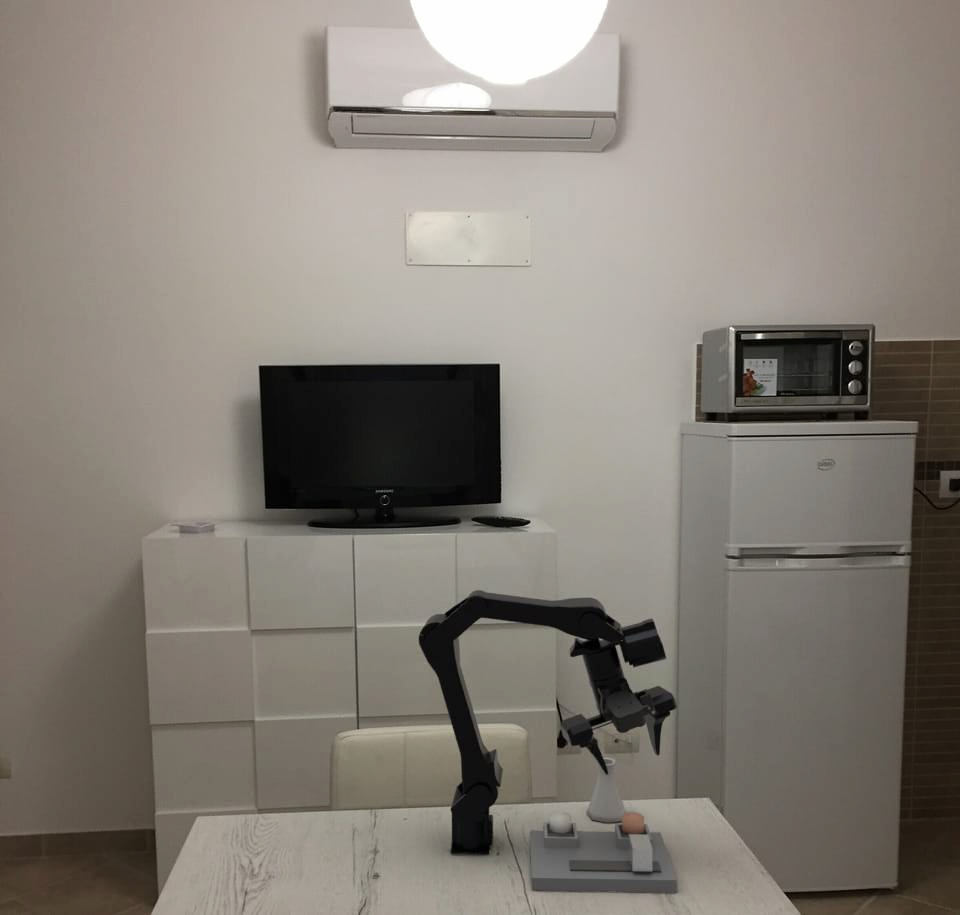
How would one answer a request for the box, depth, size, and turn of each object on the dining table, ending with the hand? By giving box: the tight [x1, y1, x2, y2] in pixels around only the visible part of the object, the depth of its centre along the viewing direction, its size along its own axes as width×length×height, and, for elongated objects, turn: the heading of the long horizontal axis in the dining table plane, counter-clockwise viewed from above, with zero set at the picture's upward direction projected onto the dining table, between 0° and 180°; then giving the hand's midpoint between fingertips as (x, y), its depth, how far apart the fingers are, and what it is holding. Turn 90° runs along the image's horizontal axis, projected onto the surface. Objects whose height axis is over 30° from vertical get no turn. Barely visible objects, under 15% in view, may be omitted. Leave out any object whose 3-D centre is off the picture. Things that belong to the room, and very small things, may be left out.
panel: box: [529, 821, 678, 894], centre depth 140 cm, size 22×15×4 cm
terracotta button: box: [621, 811, 645, 834], centre depth 144 cm, size 4×4×2 cm
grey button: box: [549, 810, 572, 833], centre depth 145 cm, size 4×4×2 cm
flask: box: [586, 757, 627, 824], centre depth 158 cm, size 7×7×10 cm
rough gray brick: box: [629, 834, 652, 871], centre depth 136 cm, size 3×4×4 cm
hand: (632, 764), depth 144 cm, fingers open, 9 cm apart
